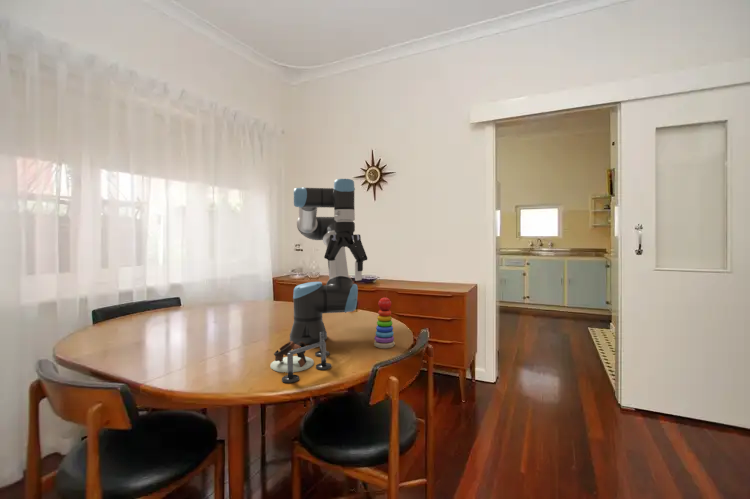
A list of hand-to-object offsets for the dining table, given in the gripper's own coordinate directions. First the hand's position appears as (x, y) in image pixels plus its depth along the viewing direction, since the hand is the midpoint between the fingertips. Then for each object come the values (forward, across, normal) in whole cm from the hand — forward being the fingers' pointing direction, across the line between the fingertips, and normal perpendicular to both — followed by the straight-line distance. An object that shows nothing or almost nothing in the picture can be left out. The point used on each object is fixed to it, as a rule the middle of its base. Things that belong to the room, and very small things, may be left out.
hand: (345, 278), depth 132 cm
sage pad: (+27, -3, -22) cm, 35 cm away
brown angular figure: (+26, -3, -22) cm, 34 cm away
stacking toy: (+27, +8, +13) cm, 31 cm away
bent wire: (+27, +2, -20) cm, 33 cm away
